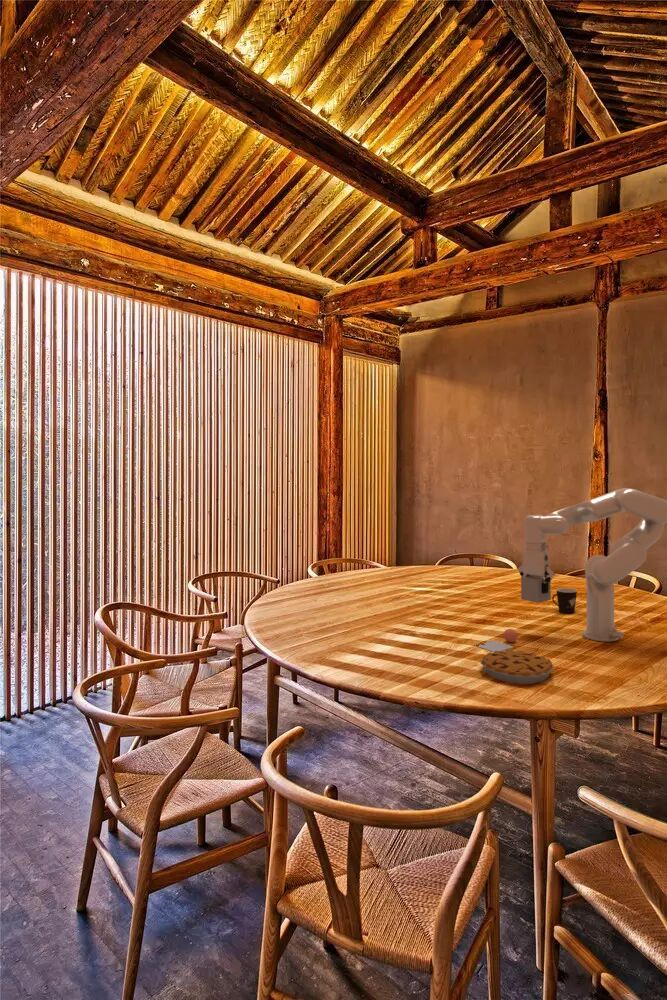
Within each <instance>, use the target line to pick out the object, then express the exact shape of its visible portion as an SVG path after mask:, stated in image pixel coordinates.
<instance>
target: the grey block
mask: <svg viewBox="0 0 667 1000" xmlns="http://www.w3.org/2000/svg"><path fill="white" fill-rule="evenodd" d="M544 578H545V577H544ZM551 581H552V580H551ZM551 581H550V583H549V590H548V593H545V594H542V583H543V581H542V579H541V577H538V576H532V575H530V576H524V577H520V584H521V585H520V589H521V590H520V593H521V595H520V597H521V600H524V601H528V602H533V603H538V604H539V603H543V602H548V601H551V600H552V597H551V596H552V595H551V594H552V592H551V585H552V583H551Z"/></svg>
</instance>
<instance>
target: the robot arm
mask: <svg viewBox="0 0 667 1000" xmlns="http://www.w3.org/2000/svg"><path fill="white" fill-rule="evenodd" d="M624 512H629V513H631V514H633V515H636V516H639V517H641V518H640V521H639V523H638V524H637V525H636V526H635V527H634V528H632V530H630V531H629V532H628V533H626V534H624V535H623V536H622V537H620V538H619V539H617V540H616V541H615V542H613V543H612V545H611V547H610V551H609V552H610V554H608V555H607V556H606V555H601V554H596V555H592V556H591V557H589V558H588V559H587V561H586V563H585V564H584V565H585V566H584V574H585V582H586V585H585V586H586V629H585V630H583V631H582V633H581V635H582V637H584V638H585V639H587V640H591V641H594V642H603V643H605V642H607V643H609V642H615V641H618V640H619V639H623V638H624V635H625V634H624V632H622V631H618V627H617V626H615V584H616V583H618V582H619V581H621V580H623V579H624V578H626V577H627V576H628V575H630V574H631V573H633V572H634V571H636V570H637V569H638V568H640V567H641V566H642V565H643V564H644V563H645V561H646V559H647V556H648V555H647V550H648V549H649V548H651V547H652V545H654V544H655V543H657V541H658V540H659V539H660V538H661V537H662V535H663V533H664V531H665V525H666V524H667V499H665V498H661V497H659V496H655V495H652V494H649V493H646V492H645V491H644V492H643V491H640V490H638V489H635V488H629V487H622V488H619V489H615V490H613V491H610V492H607V493H605V494H604V493H603V494H602V495H600V496H596V497H594V498H592V499H589V500H585V501H581V502H579V503H577V504H573V505H570V506H567V507H566V506H565V507H564V508H562V509H559V510H555V511H553V512H550V513H548V514H547V515H545V516H544V515H541V514H528V515H526V516H525V520H524V530H525V531H524V537H525V538H524V540H525V541H524V542H525V543H524V545H525V546H524V547H525V549H524V550H523V555H522V562H521V563H522V564H521V565H520V566H519V567H517V571H518V573H519V575H520V576H521V577H524V576H530V575H532V576H538V577H541V579H542V581H543V583H542V594H545V593H548V590H549V583H550V581H552V580H553V578H554V577H555V575H556V574H555V572H554V571H553V570H552V569H551V560H550V559H551V558H550V556H549V555H550V554H549V551H548V550H547V549H548V548H549V545H548V544H547V539H546V537H547V535H546V534H548V535H555V536H557V535H558V536H559V535H562V534H564V533H566V532H567V531H568V529H569V527H570V526H574V525H578V524H582V523H595V522H598V521H602V520H603V519H607V518H610V517H613V516H615V515H618V514H621V513H624ZM521 577H520V578H521ZM544 577H545V578H544Z"/></svg>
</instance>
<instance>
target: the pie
mask: <svg viewBox="0 0 667 1000" xmlns="http://www.w3.org/2000/svg"><path fill="white" fill-rule="evenodd" d="M482 657H483V658H481V661H480V664H481V665H482V666H483V668H484V671H485V673H486V674H488V675H489V676H490V677H492V678H494V679H497V680H498V681H499V680H500V681H502V682H506V683H510V684H517V685H528V684H529V685H531V684H532V685H533V684H537V683H540V682H543V681H545V680H546V679H548V678H549V677H550V674H551V672H553V670H554V664H553V662H552V661H551V660H550V659H547V658H546V657H545V656H543V655H537V654H536V653H535V652H525V650H524V651H523V650H517V651H516V650H515V651H514V650H512V649H507V650H503V651H495V653H494V652H487V653H486V655H483V656H482Z"/></svg>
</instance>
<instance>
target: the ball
mask: <svg viewBox="0 0 667 1000" xmlns="http://www.w3.org/2000/svg"><path fill="white" fill-rule="evenodd" d="M503 638H504V640H505V641H506V642H507V643H514V642H516V641H517V639H518V633H517V631H516V630H515V629H513V628H507V629H505V630H504V632H503Z"/></svg>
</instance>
